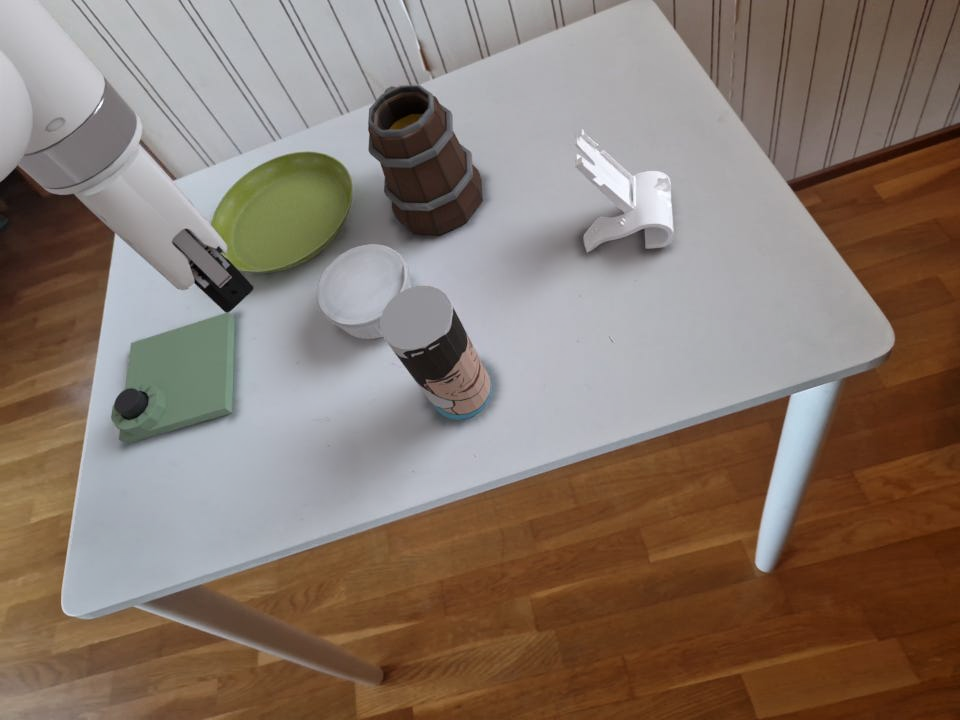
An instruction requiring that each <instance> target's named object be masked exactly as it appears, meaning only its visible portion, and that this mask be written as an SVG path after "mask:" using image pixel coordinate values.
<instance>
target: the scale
mask: <svg viewBox="0 0 960 720" xmlns="http://www.w3.org/2000/svg"><path fill="white" fill-rule="evenodd" d="M235 328H236V318H235V316H234V315H233V314H231V312H224V313H222V314H218V315H215V316H212V317H209V318H206V319H203V320H200V321H199V320H198V321H195V322H193V323H190V324H187V325H184V326H180V327H177V328H174V329H171V330H168V331H165V332H162V333H161V332H160V333H158V334H155V335H152V336H148V337H145V338H142V339H138V340H136V341H132V342H130V348H129V357H128V365H127V373H126V380H125V389H124V390H126V389H129V388H134V389H136V390H138V391H139V392H141V393H142V394H144V395H145V396H146V397H147V398H148V406H147V408H146V409H145V411H144V412H143V413H142V414H141V415H140V416H139V417H137V418H134V419H130V418H127V417H125V416H123V415H122V414H120V413H118V412H117V411H116V410H115V408H114V404H113V405H112V407H111V414H110V415H111V416H110V419H111V421H112V422H113V424H114V426H115V428H117V429H118V430H119V435H118V440H119V441H120V442H122V443H125V444H126V445H128V444H131V443H136V442H139V441H143V440H145V439H148V438H149V439H150V438H153V437H156V436H159V435H163V434H167V433H169V432H172V431H176V430H179V429H182V428H187V427H190V426H193V425H196V424H201V423H203V422H207V421H211V420H214V419H217V418H221V417H224V416H227V415H230V414H233V399H234V395H233V394H234V367H235V366H234V363H235V361H234V359H235V330H236V329H235Z"/></svg>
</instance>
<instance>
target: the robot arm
mask: <svg viewBox="0 0 960 720" xmlns="http://www.w3.org/2000/svg"><path fill="white" fill-rule="evenodd" d="M143 128H144V127H143V123H142V119H141V117H140V116H139V115H138V114H137V113H136V112H135V111H134V109H133V108H132V107H131V106H130V105H129V104H128V102H127V101H126V100H125V99H124V98H123V96H122V95H121V94H120V93H119V92H118V91H117V90H116V88H115V87H114V86H113V85H112V83H110V81H108V79H107V78H106V77H105V76H104V75H103V74H102V73H101V72H100V70H99V69H98V68H97V67H96V66H95V65H94V64H93V62H92V61H91V60H90V59H89V58H88V57H87V55H86V54H85V53H84V52H83V51H82V49H81V48H80V47H79V46H78V45H77V44H76V42H75V41H74V40H73V39H72V38H71V37H70V36H69V34H68V33H67V32H66V31H65V30H64V28H63V27H62V26H61V24H59V22H57V21H56V19H55V18H54V17H53V16H52V15H51V14H50V12H49V11H48V10H47V9H46V8H45V6H43V4H42V3H41V2H40V1H39V0H0V183H1V182H2V181H4V180H5V179H6V178H7V177H8V176H9V175H10V174H11V173H12V172H13V171H14V170H15V169H17V166H18V167H19V168H20V169H21V170H23V171H24V172H25V173H26V174H27V175H28V176H30V177H31V179H33V180H34V181H35V182H36V183H37V184H38V185H39V186H41V187H42V188H43V189H44V190H45V191H47V192H48V193H50V194H53V195H58V196H66V195H74V196H75V197H76V198H77V199H78V200H79V201H80V202H81V203H82V204H83V205H84V206H85V207H86V208H87V209H88V210H89V211H90V212H91V213H92V214H93V215H95V217H97V218H98V219H99V220H100V221H101V222H102V223H103V224H104V225H105V226H106V227H108V228H109V229H110V230H111V231H112V232H113V233H114V234H115V235H116V236H118V238H119V239H121V240H122V241H123V242H124V243H126V245H127V246H129V247H130V248H131V249H132V250H133V251H135V252H136V253H137V255H139V256H140V257H141V258H142V259H143V260H144V261H145V262H146V263H148V264H149V265H150V266H151V267H152V268H153V269H154V270H156V272H158V273H159V274H160V275H161V276H162V277H163V278H164V279H165V280H166V281H167V282H169V283H170V284H171V285H172V286H173V287H174V288H175V289H177V290H179V291H187V290H189V288H190V287H191V286H192V285H196V286H197V287H198V288H199V289H200V290H201V291H202V292H203V293H204V294H205V295H206V296H207V297H208V298H210V300H212V302H213V303H215V304H216V305H217V306H218V307H219V308H220V309H221V310H222V311H223V312H224V313H228V312H229V313H231V311H233V310H234V309H235V308H236V307H237V306H238V305H239V304H240V303H241V302H243V300H244V299H245V298H246V297H247V296H249V295H250V294H251V293H252V292H253V291H254V286H253V284H252V283H251V282H250V281H249V280H248V279H247V278H246V277H245V276H244V274H243V273H242V272H241V271H240V270H238V269H237V268H236V267H235V266H234V265H233V264H232V263H231V262H230V261H229V260H228V259H227V258H225V257H224V256H223V255H222V253H224V254H227V244H226V243H225V242H224V240H223V239H222V238H221V237H220V235H219V234H218V233H217V232H216V230H215V229H214V228H213V227H212V226H211V222H209V221H208V220H207V218H206V217H205V216H204V215H203V214H202V212H201V211H200V210H199V208H198V207H196V206H195V204H194V203H193V202H192V201H191V199H190V198H188V196H187V195H186V194H185V193H184V191H182V189H181V188H180V187H179V186H178V185H177V184H176V183H175V182H174V180H173V179H172V178H171V177H170V176H169V175H168V174H167V173H166V171H164V169H163V168H162V166H160V165H159V164H158V162H157V161H156V160H155V159H154V158H153V157H152V156H151V155H150V154H149V152H148V151H146V149H144V147H143V146H142V145H141V144H140V142H141V139H142V135H143Z"/></svg>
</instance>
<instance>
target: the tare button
mask: <svg viewBox="0 0 960 720" xmlns="http://www.w3.org/2000/svg"><path fill="white" fill-rule="evenodd" d="M113 405H114V408H115V410H116V411H117V412H118V413H120V414H122V415H123V416H125V417H127V418H130V419H134V418H137V417H139V416H140V415H141V414H142V413H143V412H144V411H145V409H146V408H147V406H148V398H147V397H146V396H145V395H144V394H142V393H141V392H139V391H138V390H136V389H134V388H129V389H126V390H125V389H124V390H122V391H121V392H119V394H118V395H117V396H116V398H115V400H114V403H113Z"/></svg>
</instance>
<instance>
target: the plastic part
mask: <svg viewBox="0 0 960 720" xmlns="http://www.w3.org/2000/svg"><path fill="white" fill-rule="evenodd" d="M574 146H575V147H576V148H577V149H578V151H579V152H581V154H582V155H583V156H584V157H583V156H582V155H580V154H578V153H577V154H575V155H574V167H575V168H576V169H577V170H578V171H579V173H581V174H582V175H583V176H584V177H585V178H586V179H587V180H588V181H589V182H590V183H591V184H592V185H593V186H595V187H596V189H598V190H599V191H600V192H601V193H602V194H603V195H604V196H605V197H606V198H607V199H609V201H611V202H612V204H614V205H615V206H616V207H617V208H618V209H619V210H620V211H621V212H622V214H620V215H617V216H613V217H612V216H611V217H609V216H604V215H603V216H602V215H601V216H599V217H598V218H596V219H595V221H593V222H592V224H591V225H590V226H589V228H588V229H587V230H586V231H585V232H584V234H583V236H582V239H583V245H584V249H585V252H586V253H589V252H591V251H593V250H594V249H596V248H597V247H598V246H600V245H601V244H603V243H605V242H610V241H614V240H618V239H622V238H625V237H628V236H630V235H632V234H635V233H637V232H639V231H641V230H644V246H645V247H644V248H645V249H646V250H647V249H648V250H649V249H651V250H652V249H662V248H665V247H666V246H668V245H670V244H671V243H672V242H673V240H674V236H675V234H674V233H675V232H674V219H673V218H674V217H673V205H672V186H671V185H672V183H671V179H670V177H669V176H668V175H667V174H666V173H664V172H662V171H659V170H646V171H641V172H639V173H637V174H634V175H632V174H631V173H630V172H629V171H628V170H627V169H625V167H623V165H621V164H620V163H619V162H618V161H617V160H616V159H614V157H612V156H611V155H610V154H609V153H608V152H607V151H606V150H604V149H601V150H600V151H599V150H598V149H597V147H599V144H598V143H597V142H596V141H594V140H593V139H592V138H591V137H589V135H588V134H586V133H585V130H584V129H583V128H581V129H579V130H578V131H577V132H575V133H574Z"/></svg>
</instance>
